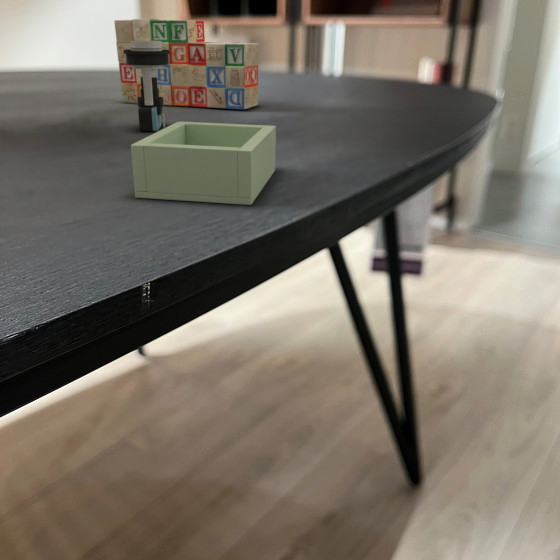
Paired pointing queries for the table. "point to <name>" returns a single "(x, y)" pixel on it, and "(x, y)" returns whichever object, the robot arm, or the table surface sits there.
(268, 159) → the open green box
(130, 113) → the table surface
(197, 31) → the stack of blocks
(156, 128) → the push button
